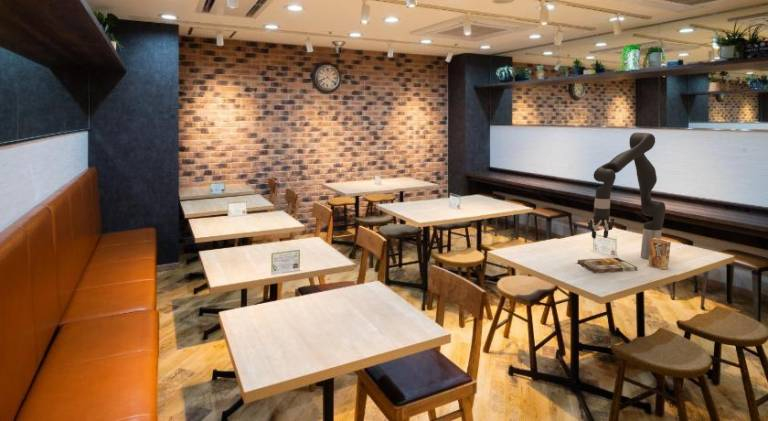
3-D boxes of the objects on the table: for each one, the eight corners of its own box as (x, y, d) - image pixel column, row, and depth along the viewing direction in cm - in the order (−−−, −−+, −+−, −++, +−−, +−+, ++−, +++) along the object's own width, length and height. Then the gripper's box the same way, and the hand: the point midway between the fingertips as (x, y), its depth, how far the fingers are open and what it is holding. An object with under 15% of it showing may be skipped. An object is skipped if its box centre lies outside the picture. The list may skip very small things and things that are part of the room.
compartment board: (617, 261, 273) (617, 255, 272) (636, 270, 256) (637, 264, 256) (577, 263, 270) (578, 257, 269) (594, 272, 253) (594, 266, 253)
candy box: (668, 268, 259) (671, 240, 256) (664, 270, 257) (667, 242, 254) (651, 264, 266) (654, 237, 263) (647, 265, 264) (650, 238, 261)
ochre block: (611, 263, 263) (611, 258, 262) (618, 266, 257) (618, 261, 256) (601, 263, 262) (601, 258, 261) (607, 267, 256) (608, 261, 255)
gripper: (610, 204, 257) (608, 235, 260) (585, 205, 255) (583, 236, 258) (619, 207, 249) (616, 239, 253) (593, 208, 247) (590, 240, 251)
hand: (599, 237), depth 255 cm, fingers open, 5 cm apart
